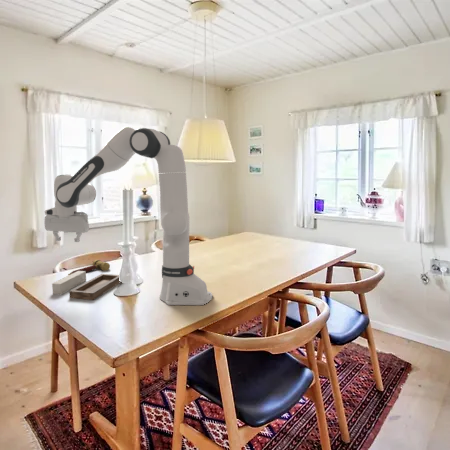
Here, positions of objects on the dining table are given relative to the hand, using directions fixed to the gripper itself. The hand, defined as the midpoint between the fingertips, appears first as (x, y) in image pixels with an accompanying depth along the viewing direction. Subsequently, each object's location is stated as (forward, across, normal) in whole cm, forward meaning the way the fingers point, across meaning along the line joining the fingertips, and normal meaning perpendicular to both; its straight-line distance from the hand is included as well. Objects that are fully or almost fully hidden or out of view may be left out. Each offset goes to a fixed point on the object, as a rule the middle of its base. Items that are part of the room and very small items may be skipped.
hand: (67, 241), depth 162 cm
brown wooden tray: (+21, -14, 0) cm, 26 cm away
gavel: (+22, +6, -24) cm, 33 cm away
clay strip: (+22, 0, 0) cm, 22 cm away
